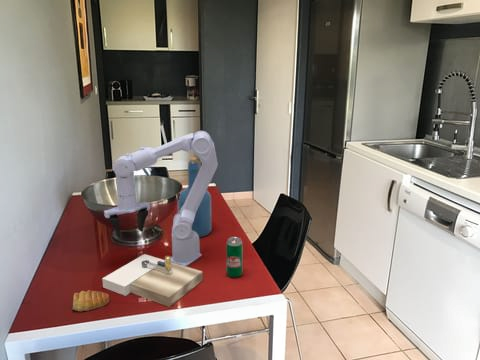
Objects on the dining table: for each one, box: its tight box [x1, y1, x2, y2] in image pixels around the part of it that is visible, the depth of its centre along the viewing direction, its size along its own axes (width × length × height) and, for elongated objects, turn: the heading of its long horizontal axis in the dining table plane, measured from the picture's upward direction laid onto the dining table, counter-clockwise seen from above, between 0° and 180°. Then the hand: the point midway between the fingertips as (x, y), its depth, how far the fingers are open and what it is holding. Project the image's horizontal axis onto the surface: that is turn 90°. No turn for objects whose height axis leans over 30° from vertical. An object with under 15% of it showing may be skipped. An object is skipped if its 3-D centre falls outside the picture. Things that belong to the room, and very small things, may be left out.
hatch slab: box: [130, 262, 204, 308], centre depth 118 cm, size 16×14×3 cm
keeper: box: [157, 261, 165, 267], centre depth 122 cm, size 1×3×2 cm, turn 61°
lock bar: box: [142, 255, 172, 274], centre depth 121 cm, size 11×2×5 cm, turn 61°
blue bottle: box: [177, 157, 213, 238], centre depth 153 cm, size 14×13×30 cm
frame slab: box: [101, 253, 165, 297], centre depth 122 cm, size 18×9×3 cm, turn 151°
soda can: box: [225, 236, 244, 279], centre depth 123 cm, size 5×5×12 cm
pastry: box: [72, 289, 110, 312], centre depth 109 cm, size 9×7×4 cm
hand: (129, 233), depth 130 cm, fingers open, 7 cm apart
